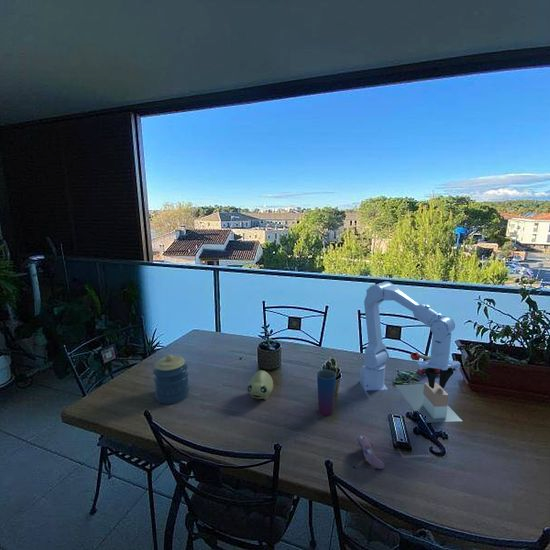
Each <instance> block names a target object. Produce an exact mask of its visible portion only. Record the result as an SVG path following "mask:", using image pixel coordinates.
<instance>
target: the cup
mask: <svg viewBox="0 0 550 550" xmlns="http://www.w3.org/2000/svg"><path fill="white" fill-rule="evenodd" d="M316 378H317V379H316V381H317V405H318V413H319V414H320V415H322V416H325V417H329V416H332V414H333V412H334V411H333V410H334V401H335V391H336V390H335V389H336V383H337V373H336V372H335V371H333V370H331V369H320V370H318V371H317V373H316Z"/></svg>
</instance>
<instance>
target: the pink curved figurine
mask: <svg viewBox="0 0 550 550" xmlns="http://www.w3.org/2000/svg"><path fill="white" fill-rule="evenodd" d="M355 444H356V445H357V446H359V447H360V448H361V449H362V453H363V457H364V458H365V461H366V462H368V464H369V465H371V466H372V467H373V468H376V469H378V470H379V469H380V470H382V469H384V468H385V462H384V461H383V460H381V459H380V458H378V457H377V456H376V455H375V452H374V450H373V446H374V442H373V441H372V440H371V439H369V438H368V437H366V436H365V435H364V434H363V435H358V436H356V442H355Z"/></svg>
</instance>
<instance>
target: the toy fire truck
mask: <svg viewBox="0 0 550 550" xmlns="http://www.w3.org/2000/svg"><path fill="white" fill-rule="evenodd" d="M410 358H411V360H412V361H418V362H420V359H421V358H422V359H425V361H427V360H430V356H427V355H424V354H419V352H417V351H416V352H412V353H410ZM434 370H435V372H436V373H437V376H440V369H437V368H434ZM417 372H418V374H419V375H420V376H421V375H425V376H427V374H426V372H425V370H424V369H422V370H419V369H418V368H417Z"/></svg>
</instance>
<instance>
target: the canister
mask: <svg viewBox="0 0 550 550" xmlns="http://www.w3.org/2000/svg"><path fill="white" fill-rule="evenodd" d="M188 368H189V366H188V364H187V363H186V359H184V358H183V357H182V356H179V355H174V354H172V353H170V354H169V353H168V354H167V355H166V356H164V357H162V358H159V360H157V361H156V362H155V363H154V368H153V370H152V374H153V375H154V377H153V383H154V396H155V399H156V402H158V403H160V404H162V405H173V404H177V403H179V402H182V401H184V400H185V399H186V398H187V397H188V396H189V393H190V386H189V372H188V371H187V369H188Z"/></svg>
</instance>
